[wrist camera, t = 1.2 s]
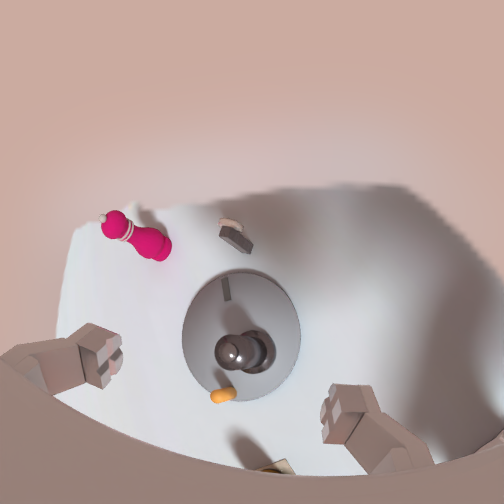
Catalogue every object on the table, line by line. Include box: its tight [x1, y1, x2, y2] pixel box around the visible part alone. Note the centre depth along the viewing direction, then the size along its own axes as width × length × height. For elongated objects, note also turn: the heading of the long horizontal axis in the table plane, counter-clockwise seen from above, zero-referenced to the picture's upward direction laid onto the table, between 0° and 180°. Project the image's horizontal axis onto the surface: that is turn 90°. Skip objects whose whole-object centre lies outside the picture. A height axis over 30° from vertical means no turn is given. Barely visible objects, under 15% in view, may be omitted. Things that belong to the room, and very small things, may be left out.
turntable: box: [182, 273, 301, 403], centre depth 46 cm, size 24×24×6 cm
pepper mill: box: [99, 210, 172, 261], centre depth 56 cm, size 7×7×20 cm
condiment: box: [254, 459, 296, 475], centre depth 32 cm, size 7×8×12 cm
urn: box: [214, 330, 276, 374], centre depth 41 cm, size 8×8×10 cm
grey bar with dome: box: [218, 218, 253, 254], centre depth 51 cm, size 4×3×10 cm
